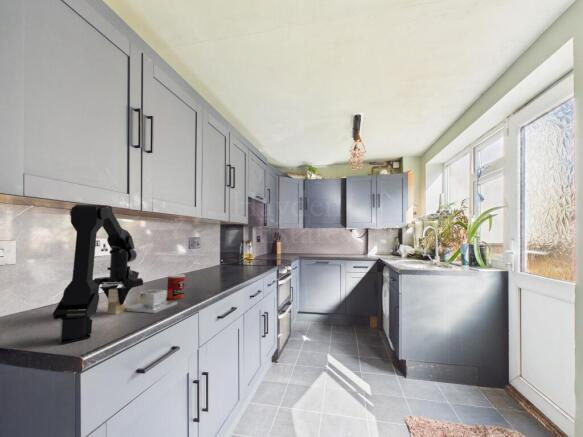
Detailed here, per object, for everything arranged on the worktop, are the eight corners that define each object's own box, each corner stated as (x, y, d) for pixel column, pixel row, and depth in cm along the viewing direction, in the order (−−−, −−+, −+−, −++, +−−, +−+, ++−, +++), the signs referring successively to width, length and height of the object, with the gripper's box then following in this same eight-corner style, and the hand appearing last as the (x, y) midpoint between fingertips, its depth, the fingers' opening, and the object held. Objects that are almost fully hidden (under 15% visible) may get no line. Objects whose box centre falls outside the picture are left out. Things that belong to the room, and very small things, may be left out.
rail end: (116, 313, 99) (117, 290, 100) (107, 313, 100) (108, 289, 101) (124, 311, 103) (126, 288, 104) (116, 310, 104) (117, 287, 104)
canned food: (173, 300, 120) (174, 276, 120) (163, 298, 124) (164, 275, 125) (187, 297, 126) (188, 274, 127) (177, 295, 130) (178, 273, 131)
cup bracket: (154, 313, 100) (155, 296, 101) (124, 310, 103) (124, 294, 104) (177, 303, 114) (177, 289, 114) (150, 302, 117) (150, 287, 117)
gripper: (153, 262, 109) (152, 300, 108) (116, 261, 113) (114, 298, 112) (132, 265, 98) (130, 307, 97) (92, 264, 102) (90, 304, 101)
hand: (116, 304), depth 102 cm, fingers closed on rail end, 4 cm apart
